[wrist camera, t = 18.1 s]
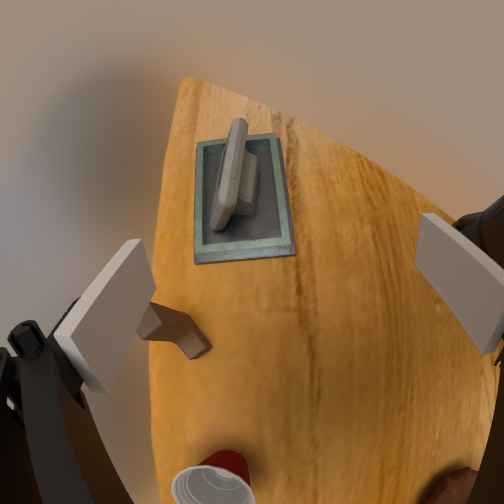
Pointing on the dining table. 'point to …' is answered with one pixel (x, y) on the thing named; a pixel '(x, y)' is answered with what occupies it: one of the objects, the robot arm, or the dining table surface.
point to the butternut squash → (454, 487)
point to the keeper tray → (243, 226)
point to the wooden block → (172, 330)
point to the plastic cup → (215, 481)
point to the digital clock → (235, 179)
